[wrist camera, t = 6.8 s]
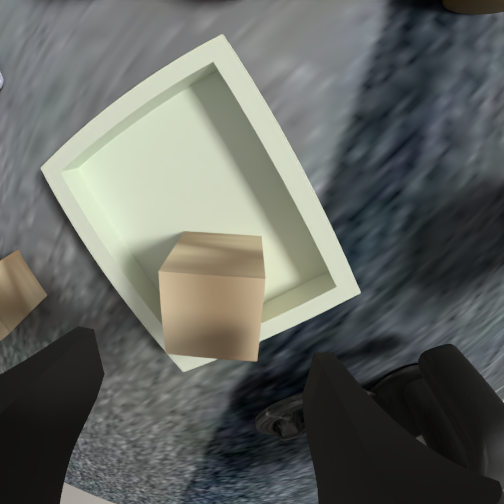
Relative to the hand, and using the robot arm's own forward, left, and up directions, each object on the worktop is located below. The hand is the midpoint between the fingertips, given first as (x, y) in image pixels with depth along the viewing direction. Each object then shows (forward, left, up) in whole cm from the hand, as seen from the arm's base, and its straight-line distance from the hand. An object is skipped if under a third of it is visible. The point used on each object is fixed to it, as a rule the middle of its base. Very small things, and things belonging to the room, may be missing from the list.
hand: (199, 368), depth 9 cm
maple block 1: (-6, -14, -9) cm, 18 cm away
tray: (-3, +1, -9) cm, 9 cm away
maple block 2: (0, 0, -8) cm, 8 cm away
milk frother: (+16, +3, -9) cm, 19 cm away
